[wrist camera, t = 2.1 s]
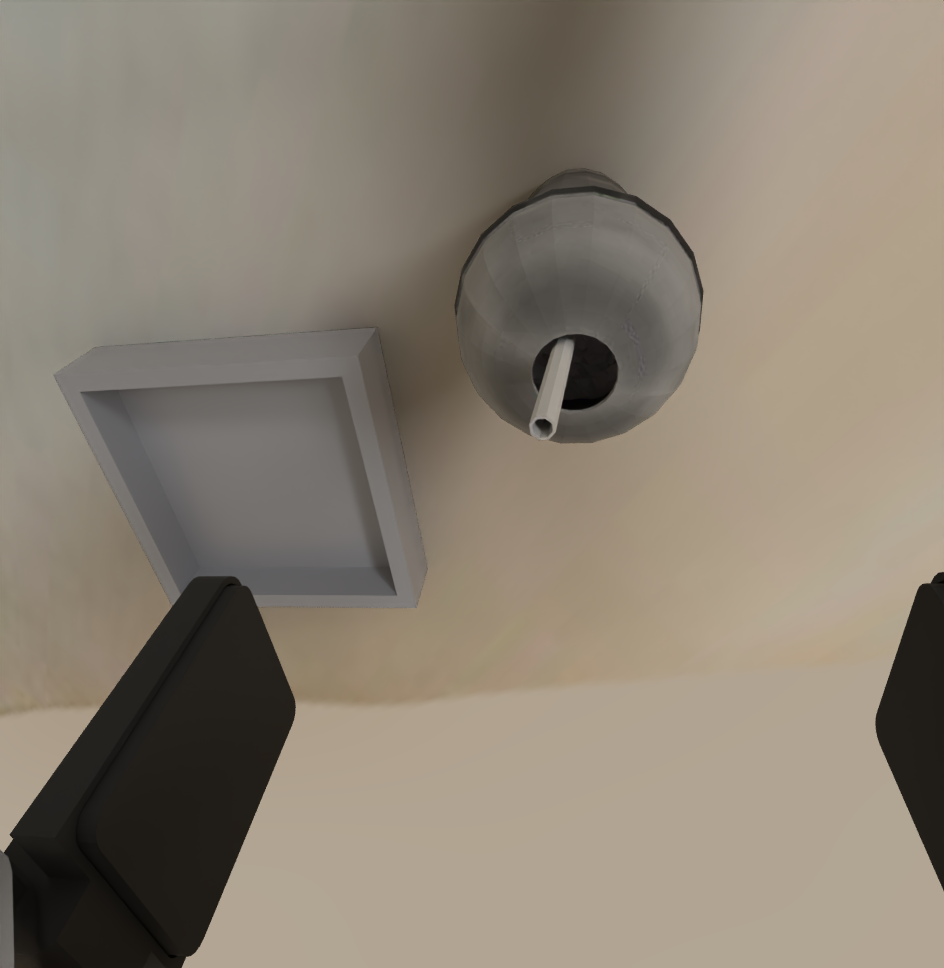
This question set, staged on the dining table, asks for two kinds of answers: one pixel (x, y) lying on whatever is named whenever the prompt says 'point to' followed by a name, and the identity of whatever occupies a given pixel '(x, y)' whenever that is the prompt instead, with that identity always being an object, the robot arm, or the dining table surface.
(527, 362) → the beverage cup
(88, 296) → the dining table surface
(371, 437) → the tray
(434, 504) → the dining table surface
